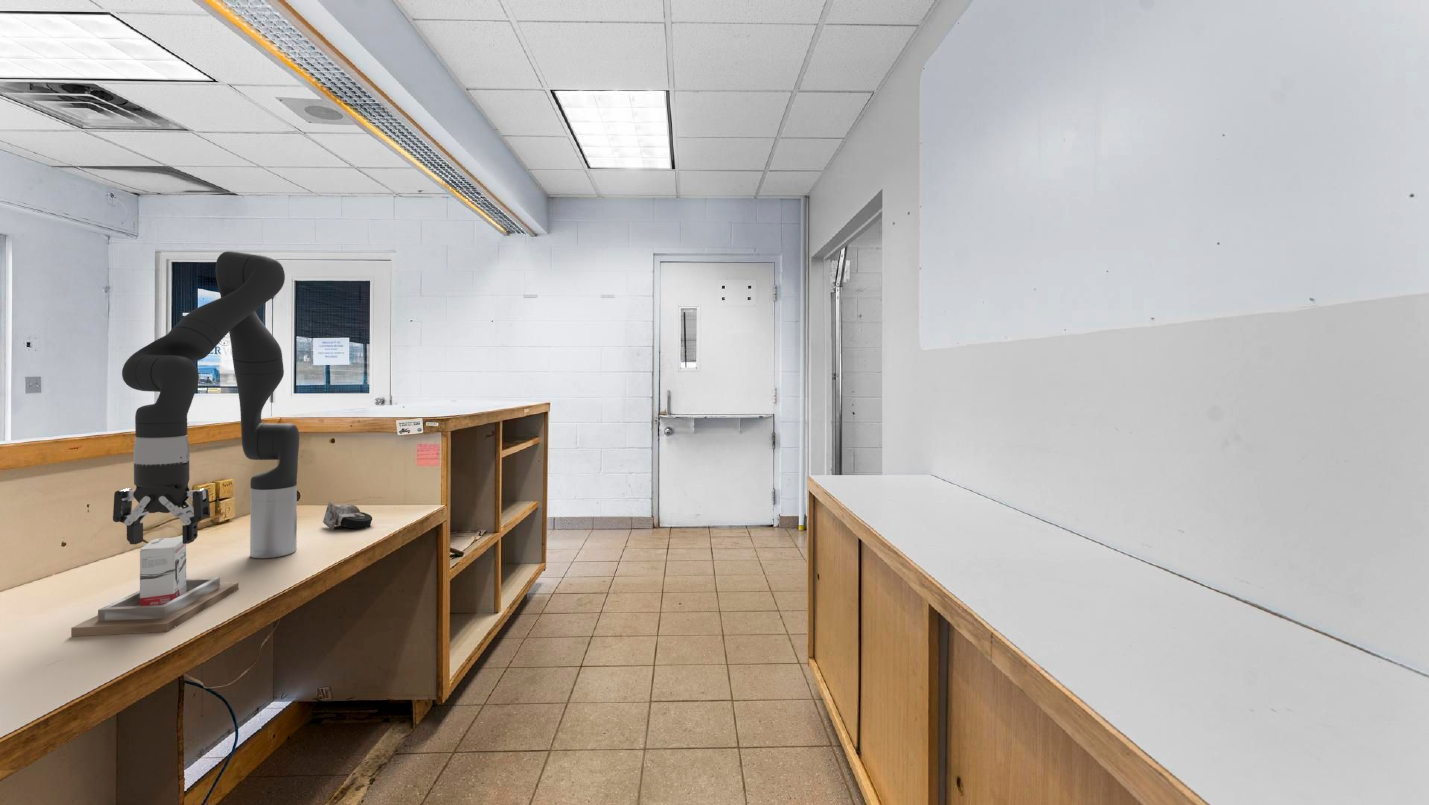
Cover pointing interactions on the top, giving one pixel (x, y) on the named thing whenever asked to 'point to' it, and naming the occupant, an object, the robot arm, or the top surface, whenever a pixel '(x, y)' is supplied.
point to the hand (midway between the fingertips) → (162, 543)
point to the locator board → (155, 610)
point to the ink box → (162, 571)
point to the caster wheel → (346, 517)
